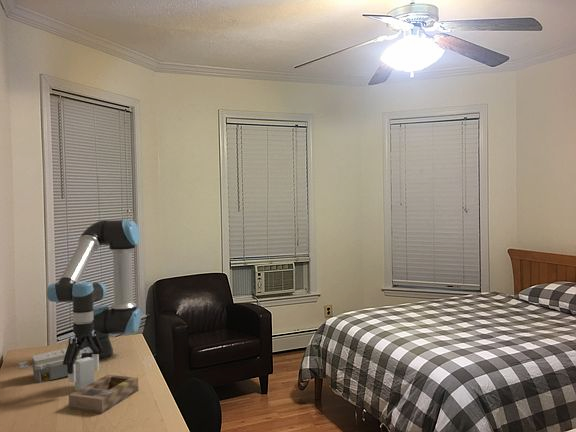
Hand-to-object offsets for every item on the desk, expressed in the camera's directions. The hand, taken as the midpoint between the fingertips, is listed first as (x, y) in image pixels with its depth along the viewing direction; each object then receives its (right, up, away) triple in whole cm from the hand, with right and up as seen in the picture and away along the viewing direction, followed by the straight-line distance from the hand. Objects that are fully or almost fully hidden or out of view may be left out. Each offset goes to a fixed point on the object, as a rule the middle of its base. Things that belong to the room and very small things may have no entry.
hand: (84, 375), depth 199 cm
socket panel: (+12, -6, -9) cm, 16 cm away
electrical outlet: (-18, -5, +17) cm, 25 cm away
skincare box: (0, -6, +1) cm, 6 cm away
